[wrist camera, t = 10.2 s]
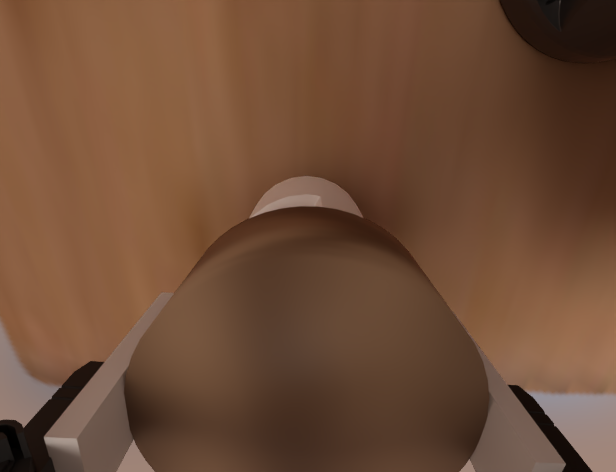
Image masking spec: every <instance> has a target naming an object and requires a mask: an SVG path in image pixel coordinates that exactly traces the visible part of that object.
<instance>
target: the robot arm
mask: <svg viewBox="0 0 616 472" xmlns="http://www.w3.org/2000/svg"><path fill="white" fill-rule="evenodd" d="M501 3H502V6H503V8H504V10H505V13H506V14H507V16H508V18H509V20H510V22H511V23H512V25H513V26H514V28H515V29H516V30H517V31H518V33H519V34H520V35H521V36H522V37H523V38H524V39H525V40H526V41H527V42H528V43H529V44H531V45H532V46H533V47H535V48H536V49H537V50H539V51H541V52H543V53H544V54H546V55H549V56H551V57H553V58H556V59H559V60H563V61H568V62H575V63H595V62H602V61H608V60H613V59H616V0H501ZM173 294H174V293H163V292H161V294H160V295H159V296H158V297H157V299H156V300H155V301H154V302H153V303H152V305H151V306H150V307H149V308H148V310H147V311H146V312H145V313H144V314H143V316H142V317H141V318H140V319H139V321H138V322H137V323H136V324H135V326H134V327H133V328H132V329H131V330H130V332H129V333H128V334H127V335H126V337H125V338H124V339H123V340H122V341H121V343H120V344H119V345H118V346H117V348H116V349H115V350H114V351H113V353H112V354H111V355H110V356H109V357H108V359H107V360H106V361H105V362H96V361H90V362H89V363H87V364H86V365H84V366H83V367H81V368H80V369H78V370H77V371H75V372H74V373H73V374H72V375H71V376H70V377H69V378H68V379H67V381H66V382H65V383H64V384H63V385H62V388H59V389H58V390H57V392H56V393H55V394H54V395H53V396H52V399H51V400H48V402H47V403H46V404H45V405H44V406H43V407H42V408H41V409H40V410H39V412H38V413H37V414H36V415H35V416H34V417H33V418H32V419H31V420H30V422H29V423H28V424H27V425H26V426H25V427H24V428H23V427H22V424H20V423H19V422H17V421H16V420H1V421H0V472H116V471H117V469H118V467H119V465H120V463H121V462H122V459H123V458H124V456H125V454H126V452H127V450H128V449H129V447H130V445H131V443H132V441H133V439H134V438H133V436H132V434H131V431H130V427H129V421H128V415H127V408H126V402H125V396H124V388H125V378H126V373H127V370H128V366H129V363H130V359H131V356H132V354H133V352H134V350H135V348H136V346H137V344H138V342H139V340H140V338H141V337H142V336H143V334H144V333H145V332H146V330H147V329H148V328H149V326H150V325H151V324H152V322H153V321H154V319H155V318H156V317H157V316H158V314H159V313H160V312H161V310H162V309H163V308H164V306H165V305H166V304H167V302H168V301H169V300H170V298H171V297H172V296H173ZM453 313H454V312H453ZM454 315H455V314H454ZM455 316H456V315H455ZM456 317H457V316H456ZM457 319H458V318H457ZM458 320H459V319H458ZM459 322H460V320H459ZM460 323H461V322H460ZM461 324H462V323H461ZM462 326H463V324H462ZM463 327H464V326H463ZM464 329H465V330H466V328H465V327H464ZM466 332H467V333H468V334H469V332H468V331H467V330H466ZM469 336H470V337H471V335H470V334H469ZM471 339H472V340H473V342H474V343H475V345H476V347H477V350H478V352H479V354H480V356H481V358H482V360H483V363H484V367H485V371H486V375H487V379H488V388H489V406H488V416H487V420H486V423H485V427H484V430H483V432H482V435H481V438H480V440H479V443H478V445H477V447H476V449H475V451H474V452H473V454H472V455H471V457H470V458H469V459H470V461H471V463H472V465H473V467H474V469H475V471H476V472H592V471H591V469H590V468H589V467H588V466H587V464H586V463H585V462H584V461H583V459H582V458H581V457H580V456H579V454H578V453H577V452H576V451H575V450H574V448H573V447H572V446H571V444H570V443H569V442H568V441H567V439H566V438H565V437H564V436H563V434H562V433H561V432H560V431H559V429H558V428H557V427H556V426H554V423H553V422H552V421H551V419H550V418H549V417H548V416H547V415H545V413H544V411H543V409H542V408H541V407H540V406H539V404H538V403H537V402H536V401H535V399H534V398H533V397H532V396H530V395H529V394H528V393H527V392H525V391H524V390H523V389H522V388H521V387H519V386H518V385H507V384H506V382H505V381H504V380H503V378H502V377H501V376H500V374H499V373H498V372H497V370H496V369H495V368H494V366H493V365H492V363H491V362H490V361H489V359H488V358H487V357H486V355H485V354H484V353H483V351H482V350H481V349H480V347H479V346H478V345H477V343H476V342H475V341H474V339H473V338H472V337H471Z"/></svg>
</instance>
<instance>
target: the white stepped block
mask: <svg viewBox="0 0 616 472" xmlns="http://www.w3.org/2000/svg"><path fill="white" fill-rule="evenodd" d="M297 206H318V207H325V208H333V209H338V210H342V211H345V212H349V213H352V214H355V215H358V216H360V217H362V218H363V216H362V214H361V212H360V210H359V209H358V207H357V205H356V204H355V202H354V201H353V199H352V198H351V197H350V195H349V194H348V193H347V192H346V191H345V190H343V189H342V188H341V187H339V186H338V185H337V184H335V183H333V182H330V181H328V180H326V179H323V178H319V177H311V176H302V177H294V178H290V179H287V180H285V181H282V182H280V183H277V184H276V185H275V186H273V187H272V188H271V189H269V190H268V191H267V192H266V193H265V194H264V195H263V196H262V198H261V199H260V200H259V202H258V203H257V205H256V206H255V208H254V210H253V212H252V213H251V215H250V217H249V218H252V217H254V216H257V215H259V214H262V213H264V212H269V211H273V210H277V209H281V208H288V207H297Z"/></svg>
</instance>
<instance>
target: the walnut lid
mask: <svg viewBox="0 0 616 472" xmlns="http://www.w3.org/2000/svg"><path fill="white" fill-rule="evenodd" d="M124 396H125V402H126V408H127V415H128V421H129V427H130V431H131V434H132V436H133V438H134V440H135V443H136V445H137V447H138V449H139V450H140V452H141V453H142V455H143V457H144V458H145V460H146V461H147V462H148V464H149V465H150V466H151V467H152V469H153V470H154V471H155V472H459V471H460V470H461V469H462V468H463V467H464V466H465V464H466V463H467V461H468V460H469V458H470V457H471V455H472V454H473V452H474V451H475V449H476V447H477V445H478V443H479V440H480V438H481V435H482V432H483V430H484V427H485V423H486V420H487V416H488V406H489V388H488V379H487V375H486V371H485V367H484V363H483V360H482V358H481V356H480V354H479V352H478V350H477V347H476V345H475V343H474V342H473V340H472V339H471V337H470V336H469V334H468V333H467V332H466V330H465V329H464V327H463V326H462V324H461V323H460V322H459V320H458V319H457V317H456V316H455V315H454V313H453V312H452V311H451V309H450V308H449V306H448V305H447V304H446V302H445V301H444V300H443V298H442V297H441V295H440V294H439V293H438V291H437V290H436V288H435V287H434V286H433V284H432V283H431V282H430V280H429V279H428V277H427V276H426V275H425V273H424V272H423V271H422V269H421V268H420V266H419V265H418V264H417V262H416V261H415V260H414V258H413V257H412V255H411V254H410V253H409V251H408V250H407V249H406V248H405V247H404V246H403V245H402V244H401V243H400V242H399V241H398V240H397V239H396V238H395V237H394V236H392V235H391V234H390V233H389V232H387V231H386V230H385V229H383V228H381V227H380V226H378V225H376V224H375V223H373V222H371V221H369V220H367V219H365V218H362V217H360V216H358V215H355V214H352V213H349V212H345V211H342V210H338V209H333V208H325V207H318V206H297V207H288V208H281V209H277V210H273V211H269V212H264V213H262V214H259V215H257V216H254V217H252V218H249V219H247V220H245V221H243V222H241V223H240V224H238V225H236V226H234V227H232V228H231V229H230V230H228V231H227V232H226V233H224V234H223V235H222V236H220V237H219V238H218V239H217V240H216V241H215V242H214V243H213V244H212V245H211V246H210V247H209V248H208V249H207V251H206V252H205V253H204V255H203V256H202V257H201V259H200V260H199V261H198V263H197V264H196V265H195V267H194V268H193V269H192V271H191V272H190V273H189V275H188V276H187V277H186V278H185V280H184V281H183V282H182V284H181V285H180V286H179V288H178V289H177V290H176V292H175V293H174V294H173V296H172V297H171V298H170V300H169V301H168V302H167V304H166V305H165V306H164V308H163V309H162V310H161V312H160V313H159V314H158V316H157V317H156V318H155V319H154V321H153V322H152V324H151V325H150V326H149V328H148V329H147V330H146V332H145V333H144V334H143V336H142V337H141V338H140V340H139V342H138V344H137V346H136V348H135V350H134V352H133V354H132V356H131V359H130V363H129V366H128V370H127V373H126V378H125V388H124Z"/></svg>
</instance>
